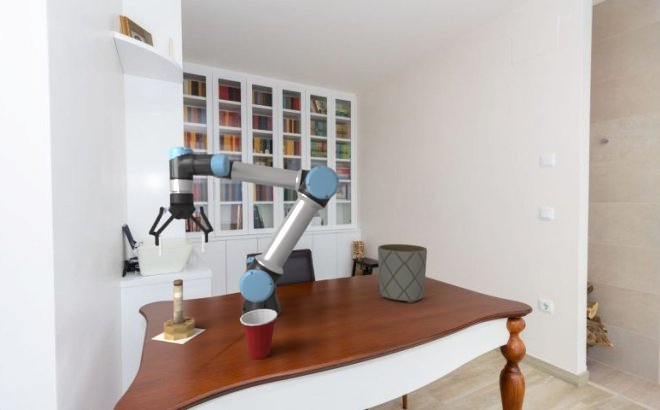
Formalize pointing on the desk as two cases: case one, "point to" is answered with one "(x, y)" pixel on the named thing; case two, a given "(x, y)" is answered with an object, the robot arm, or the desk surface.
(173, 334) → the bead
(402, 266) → the planter
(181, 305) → the stone peg
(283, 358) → the desk surface
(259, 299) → the robot arm
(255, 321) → the plastic cup
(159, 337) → the mat
